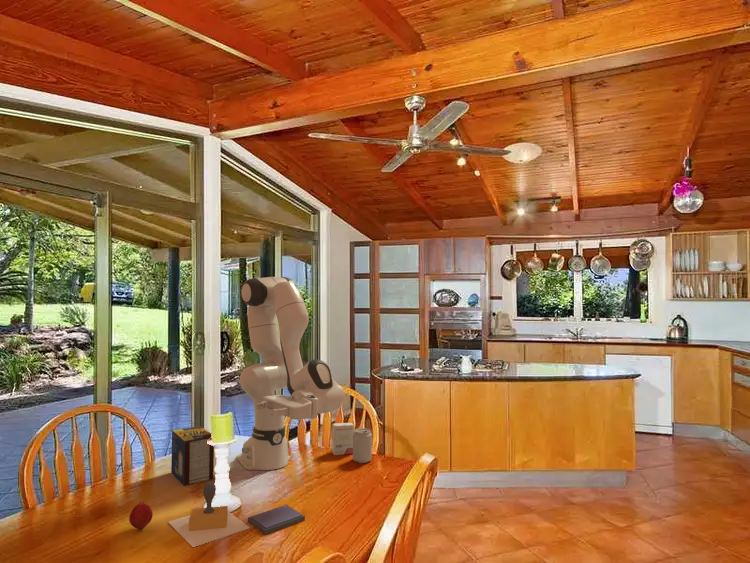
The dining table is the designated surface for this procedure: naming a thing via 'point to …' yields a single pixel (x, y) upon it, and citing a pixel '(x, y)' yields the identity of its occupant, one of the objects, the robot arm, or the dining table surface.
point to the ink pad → (276, 519)
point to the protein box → (192, 455)
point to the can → (362, 445)
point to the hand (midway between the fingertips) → (264, 410)
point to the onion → (140, 515)
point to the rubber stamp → (208, 512)
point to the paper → (207, 530)
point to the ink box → (342, 438)
